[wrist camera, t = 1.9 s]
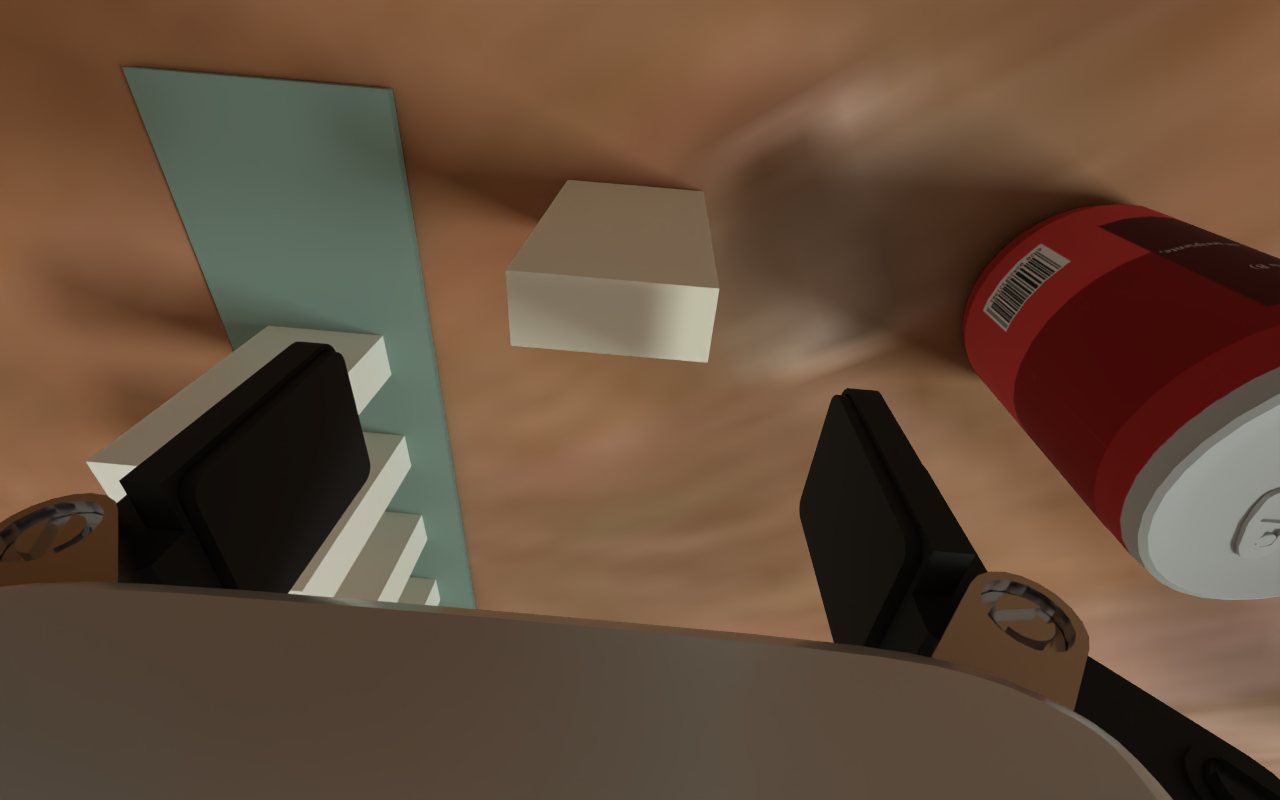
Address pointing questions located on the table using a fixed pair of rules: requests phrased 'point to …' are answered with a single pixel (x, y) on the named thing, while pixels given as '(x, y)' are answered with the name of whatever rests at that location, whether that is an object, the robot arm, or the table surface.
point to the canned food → (1146, 384)
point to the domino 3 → (386, 559)
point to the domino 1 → (198, 397)
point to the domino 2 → (357, 517)
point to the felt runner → (315, 250)
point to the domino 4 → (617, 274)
